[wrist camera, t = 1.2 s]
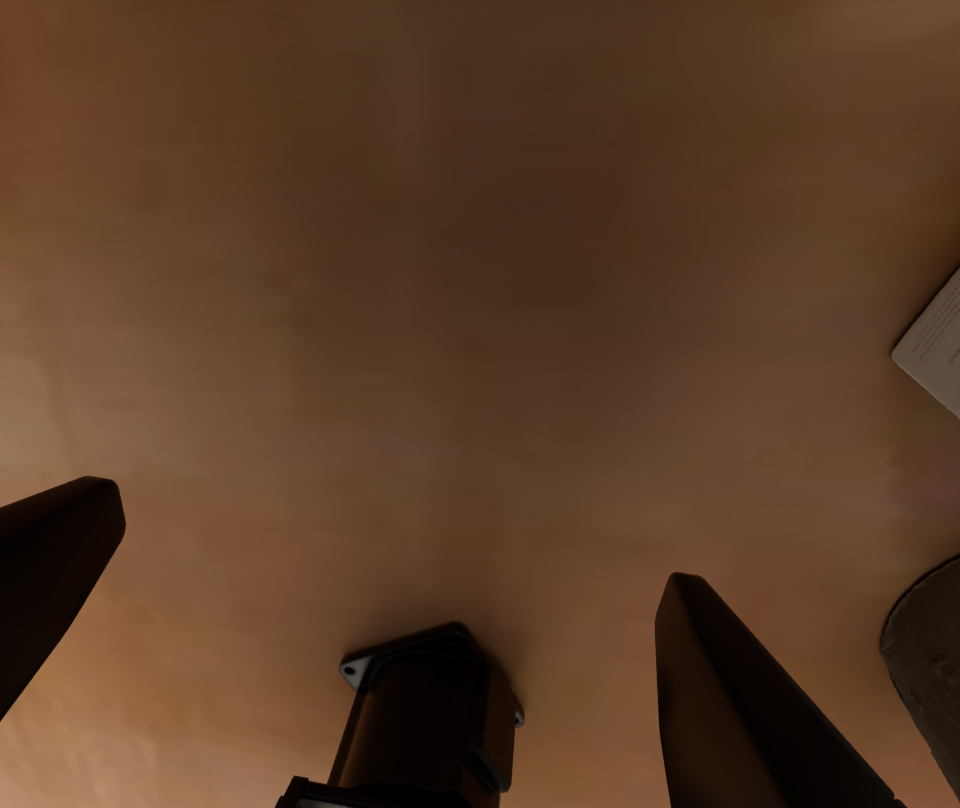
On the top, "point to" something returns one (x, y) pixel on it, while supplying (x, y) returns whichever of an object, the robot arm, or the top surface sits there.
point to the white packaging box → (936, 347)
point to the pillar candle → (930, 663)
